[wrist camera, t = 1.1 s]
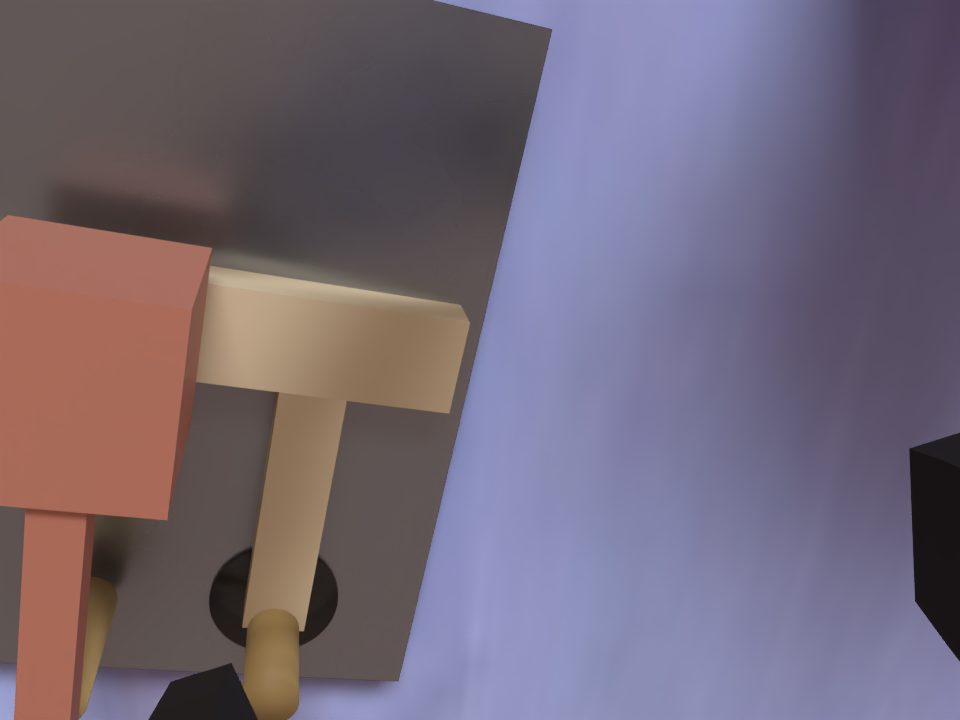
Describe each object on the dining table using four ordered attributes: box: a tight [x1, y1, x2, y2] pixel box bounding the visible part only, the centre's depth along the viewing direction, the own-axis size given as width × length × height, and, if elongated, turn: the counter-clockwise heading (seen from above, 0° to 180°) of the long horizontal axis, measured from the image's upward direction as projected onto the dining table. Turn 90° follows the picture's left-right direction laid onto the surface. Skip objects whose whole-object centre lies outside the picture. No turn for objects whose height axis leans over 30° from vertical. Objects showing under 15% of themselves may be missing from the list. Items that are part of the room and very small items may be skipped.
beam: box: [196, 266, 470, 720], centre depth 15 cm, size 14×7×3 cm, turn 77°
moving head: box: [0, 215, 212, 720], centre depth 15 cm, size 3×9×4 cm, turn 167°
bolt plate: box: [0, 0, 552, 681], centre depth 16 cm, size 15×14×1 cm
